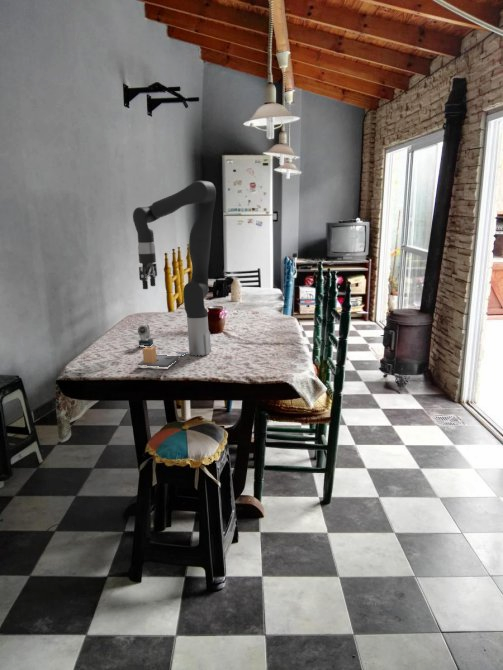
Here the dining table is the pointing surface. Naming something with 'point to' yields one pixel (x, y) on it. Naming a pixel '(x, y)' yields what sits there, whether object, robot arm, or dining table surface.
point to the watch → (145, 335)
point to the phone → (181, 353)
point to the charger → (149, 354)
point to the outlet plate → (162, 361)
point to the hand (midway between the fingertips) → (149, 287)
